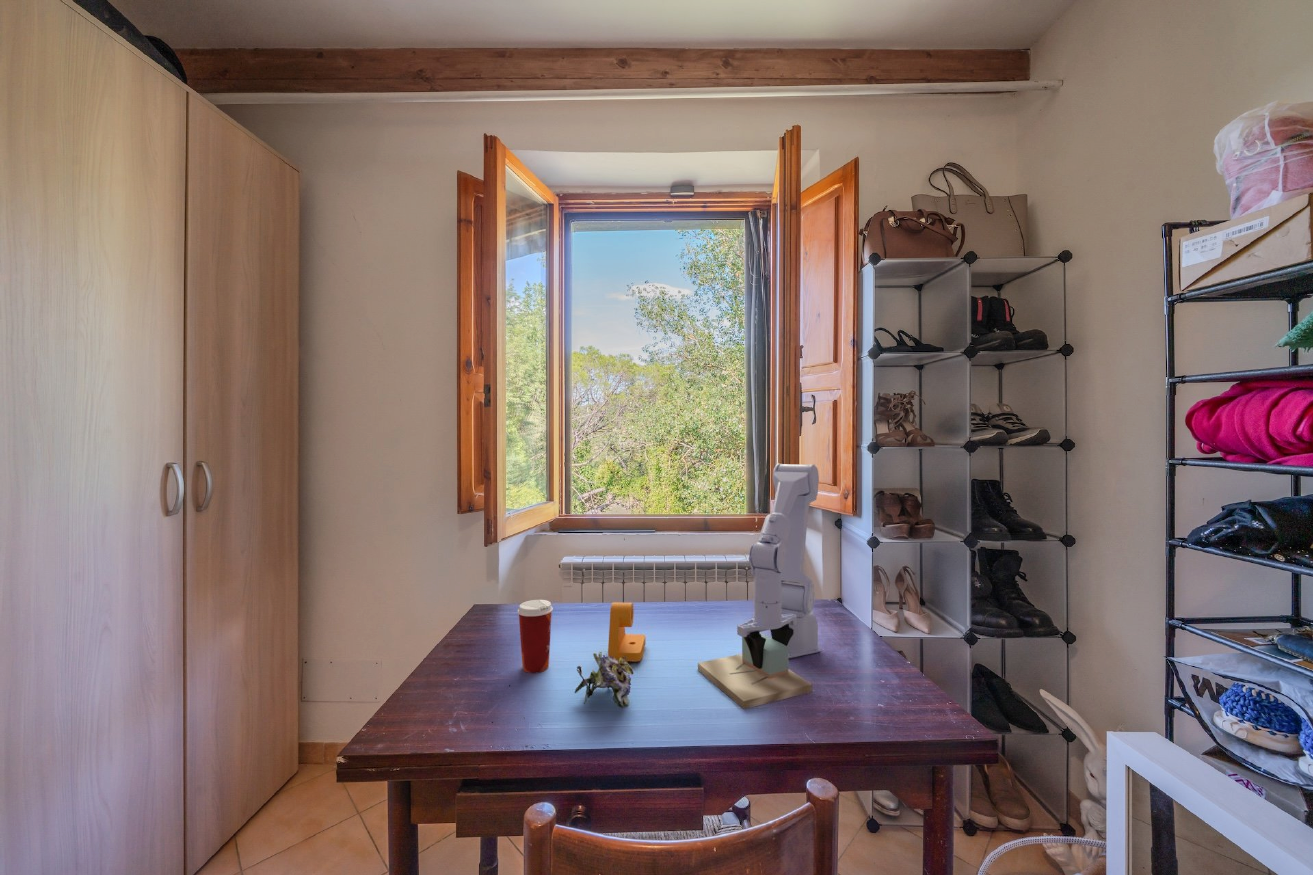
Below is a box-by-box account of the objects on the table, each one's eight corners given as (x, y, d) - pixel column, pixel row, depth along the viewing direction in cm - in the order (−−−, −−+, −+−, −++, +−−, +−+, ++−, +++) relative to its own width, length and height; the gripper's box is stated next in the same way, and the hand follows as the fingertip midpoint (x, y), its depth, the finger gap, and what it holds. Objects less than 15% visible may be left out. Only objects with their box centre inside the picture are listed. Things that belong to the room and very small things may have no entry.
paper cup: (560, 666, 117) (559, 603, 116) (530, 678, 111) (530, 612, 111) (539, 656, 122) (539, 596, 122) (510, 667, 116) (510, 604, 116)
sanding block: (760, 657, 117) (760, 632, 117) (788, 673, 109) (788, 646, 109) (742, 661, 115) (742, 636, 115) (769, 678, 107) (769, 651, 107)
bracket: (640, 665, 117) (639, 611, 117) (608, 663, 118) (607, 610, 118) (646, 645, 128) (645, 596, 128) (616, 644, 129) (616, 595, 129)
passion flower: (624, 732, 100) (635, 699, 93) (567, 725, 99) (574, 692, 92) (627, 677, 109) (638, 643, 103) (575, 670, 108) (583, 635, 102)
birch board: (759, 656, 121) (759, 650, 121) (812, 691, 105) (812, 684, 105) (697, 669, 115) (697, 662, 115) (743, 709, 98) (743, 701, 98)
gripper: (781, 589, 118) (781, 649, 118) (728, 599, 111) (728, 663, 111) (803, 598, 112) (804, 661, 112) (749, 609, 105) (749, 677, 105)
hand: (767, 663), depth 111 cm, fingers closed on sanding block, 5 cm apart
